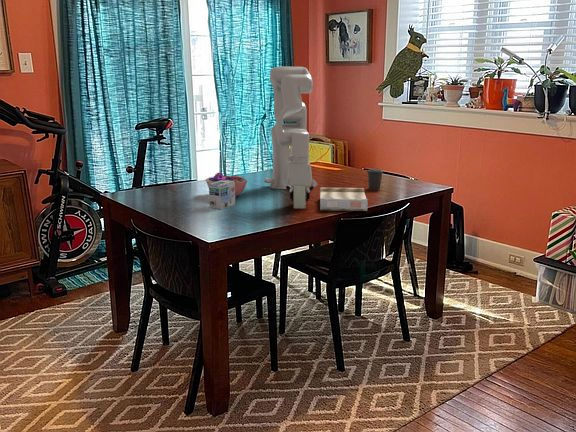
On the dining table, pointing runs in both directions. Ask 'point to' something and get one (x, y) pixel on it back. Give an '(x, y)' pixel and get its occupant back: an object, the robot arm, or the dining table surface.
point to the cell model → (239, 181)
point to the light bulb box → (222, 194)
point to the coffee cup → (374, 178)
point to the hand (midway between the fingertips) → (299, 200)
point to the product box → (299, 196)
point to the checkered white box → (343, 199)
